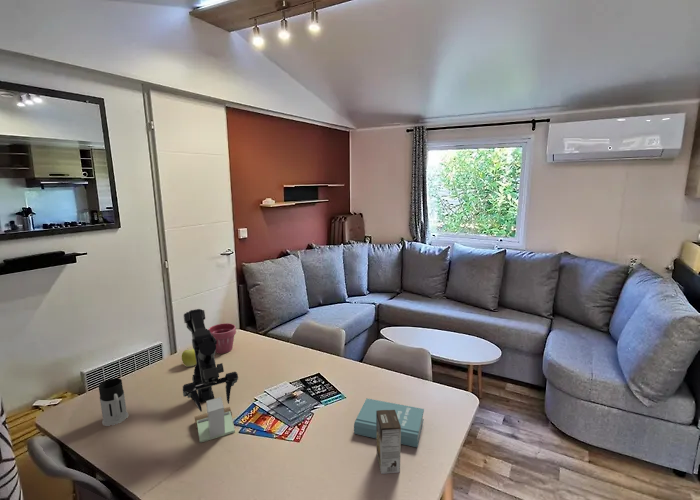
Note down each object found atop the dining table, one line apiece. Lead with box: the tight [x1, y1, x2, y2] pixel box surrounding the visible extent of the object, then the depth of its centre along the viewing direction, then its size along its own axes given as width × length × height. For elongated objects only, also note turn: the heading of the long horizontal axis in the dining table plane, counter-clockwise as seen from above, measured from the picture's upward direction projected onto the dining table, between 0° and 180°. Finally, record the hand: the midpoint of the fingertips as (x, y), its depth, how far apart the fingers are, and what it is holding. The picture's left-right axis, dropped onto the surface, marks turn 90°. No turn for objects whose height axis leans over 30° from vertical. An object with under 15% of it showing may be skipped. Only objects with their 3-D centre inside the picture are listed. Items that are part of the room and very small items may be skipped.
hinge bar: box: [194, 406, 233, 429], centre depth 141 cm, size 4×13×2 cm, turn 118°
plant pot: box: [208, 322, 237, 355], centre depth 199 cm, size 14×14×13 cm
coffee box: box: [376, 410, 402, 475], centre depth 117 cm, size 9×6×16 cm
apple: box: [181, 348, 196, 368], centre depth 184 cm, size 8×8×10 cm
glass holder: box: [98, 377, 129, 427], centre depth 140 cm, size 9×14×15 cm, turn 44°
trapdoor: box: [197, 411, 236, 443], centre depth 135 cm, size 9×12×1 cm
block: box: [205, 396, 225, 438], centre depth 130 cm, size 5×5×13 cm
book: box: [353, 398, 425, 448], centre depth 135 cm, size 23×16×5 cm
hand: (215, 407), depth 130 cm, fingers open, 9 cm apart
